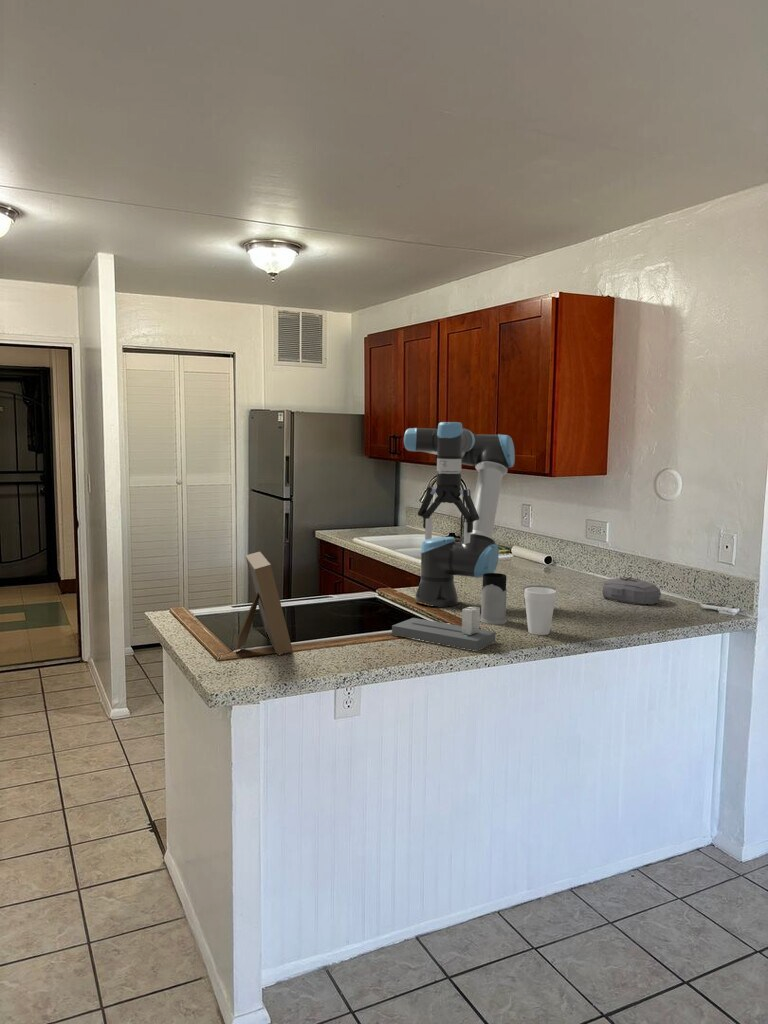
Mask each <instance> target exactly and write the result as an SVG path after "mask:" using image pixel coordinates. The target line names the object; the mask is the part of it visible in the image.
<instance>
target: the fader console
mask: <svg viewBox="0 0 768 1024" xmlns="http://www.w3.org/2000/svg"><path fill="white" fill-rule="evenodd" d="M496 632H497V631H491V630H487V629H480V628H479V632H477V633H474V634H472V635H469V634H463V633H462V625H457V624H451V623H446V622H440V621H435V620H428V619H424V618H423V619H421V618H416V617H411V618H409V619H406V620H404V621H401V622H398V623H396V624H393V625H391V635H392V634H393V635H397V636H403V637H410V638H415V639H420V640H424V641H429V642H434V643H440V644H444V645H450V646H455V647H459V648H458V649H460V648H465V649H471V650H479V649H481V648H483V647H485V646H487V645H489V646H491V645H492V643H493V642H494V643H496ZM397 636H396V637H397ZM434 643H433V644H434ZM494 643H493V644H494ZM490 644H491V645H490ZM444 645H443V646H444ZM455 647H454V648H455ZM487 647H488V646H487ZM485 648H486V647H485ZM465 649H464V650H465ZM483 649H484V648H483ZM481 650H482V649H481ZM479 651H480V650H479Z"/></svg>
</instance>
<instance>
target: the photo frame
mask: <svg viewBox="0 0 768 1024" xmlns="http://www.w3.org/2000/svg"><path fill="white" fill-rule="evenodd" d="M244 557H245V559H246V564H247V567H248V571H249V576H250V578H251V582H252V586H253V590H254V594H255V597H254V599H253V601H252V604H251V605H250V608H249V611H248V613H247V615H246V617H245V619H244V622H243V623H242V626H241V628H240V631H239V633H238V635H237V638H236V647H235V650H236V649H238V648H240V647H242V646H244V645H245V646H246V643H247V642H248V641H247V640H248V637H249V633H250V631H251V626H252V624H253V620H254V617H255V614H256V611H257V608H258V610H259V613H260V616H261V620H262V624H263V629H264V632H265V633H266V632H267V634H268V637H269V639H270V641H271V643H272V645H273V647H274V649H275V651H276V652H275V651H274V652H275V654H276V653H277V654H279V653H285V654H289V653H291V652H293V651H294V650H293V646H292V642H291V639H290V635H289V629H288V626H287V622H286V619H285V618H286V617H285V615H284V611H283V608H282V603H281V600H280V596H279V591H278V588H277V584H276V580H275V577H274V572H273V568H272V563H270V562H269V561H268V559H267V558H266V557H265V556H264V554H263V553H262V552H261V551H257V552H256V551H255V552H254V553H249V554H246V555H244ZM268 637H267V638H268ZM269 639H268V640H269ZM270 641H269V642H270ZM271 643H270V644H271ZM272 645H271V646H272ZM273 647H272V648H273ZM274 649H273V650H274ZM277 654H276V655H277Z"/></svg>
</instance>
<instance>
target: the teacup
mask: <svg viewBox="0 0 768 1024" xmlns="http://www.w3.org/2000/svg"><path fill="white" fill-rule="evenodd" d="M531 587H541V588H550V589H553V590H555V591H556V587H555V586H552V585H546V584H537V583H535V584H529V585H526V586H524V587H523V588H522V589H523V591H524V590H525V589H526V588H531ZM523 602H524V606H525V607H526V603H525V597H524V596H523Z"/></svg>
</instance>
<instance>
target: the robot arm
mask: <svg viewBox="0 0 768 1024" xmlns="http://www.w3.org/2000/svg"><path fill="white" fill-rule="evenodd" d="M403 445H404V448H405V450H406V451H408V452H423V453H427V454H433V455H435V456H436V455H437V456H436V471H437V473H436V487H434V486H430V487H427V491H426V495H425V497H424V500H423V502H422V504H421V506H420V507H419V510H418V512H417V515H418V516H419V517H422V519H423V521H422V522H423V523H422V524H423V529H424V530H425V532H424V533H425V535H424V538H425V539H424V540H423V541H422V543H421V548H420V549H421V550H420V551H421V552H420V582H419V584H418V588H417V591H416V593H415V595H414V596H415V598H414V599H415V600H416V601H419V602H422V603H426V604H429V605H433V606H438V607H437V608H449V607H454V606H457V605H458V604H459V596H458V595H459V594H458V592H457V589H456V585H455V582H454V579H455V576H457V577H458V576H461V577H471V578H476V579H480V578H482V579H483V574H486V573H495V571H496V569H497V566H498V564H499V557H500V556H499V555H500V550H499V546H498V545H497V544H496V540H495V538H493V533H494V526H495V523H496V522H495V520H496V514H497V509H498V503H499V497H500V493H501V492H500V491H501V485H502V480H503V477H504V476H505V475H507V473H508V470H509V468H513V467H514V465H515V462H516V460H515V459H516V457H515V455H516V454H515V453H516V452H515V445H514V442H513V439H512V437H511V436H510V435H508V434H501V433H498V434H483V433H482V434H480V433H478V434H477V433H473V432H472V431H471V430H469V429H467V428H463V423H462V422H460V421H459V422H457V421H453V422H452V421H441V422H439V423H438V425H437V428H426V427H413V428H412V427H409V428H407V429H406V430H405V432H404V436H403ZM462 465H465V466H470V467H471V466H474V468H475V470H476V471H477V472H478V475H477V480H476V485H475V491H474V497H473V498H472V495H471V489H469V488H467V489H462V488H461V486H462V474H461V472H462ZM434 495H437V497H436V498H435V499H434V501H433V502H432V500H433V498H434ZM460 496H462V498H463V500H464V502H465V503H463V500H462V499H461V497H460ZM431 502H432V503H431ZM442 503H444V504H446V503H447V504H454V505H455V506H456V507H457V509H458V511H459V512H460V513H461V515H462V516H463V518H464V519H465V520H466V521H465V522H464V521H463V522H464V523H463V535H462V537H461V541H456V539H455V537H454V536H441V537H432V536H433V535H432V534H433V533H432V532H433V531H432V530H433V518H432V517H431V516H432V515H433V513H434V512H435V511H436V510H437V508H438V507H439V506H440V505H441V504H442ZM430 504H431V505H430ZM415 600H414V601H415ZM448 606H449V607H448Z"/></svg>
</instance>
